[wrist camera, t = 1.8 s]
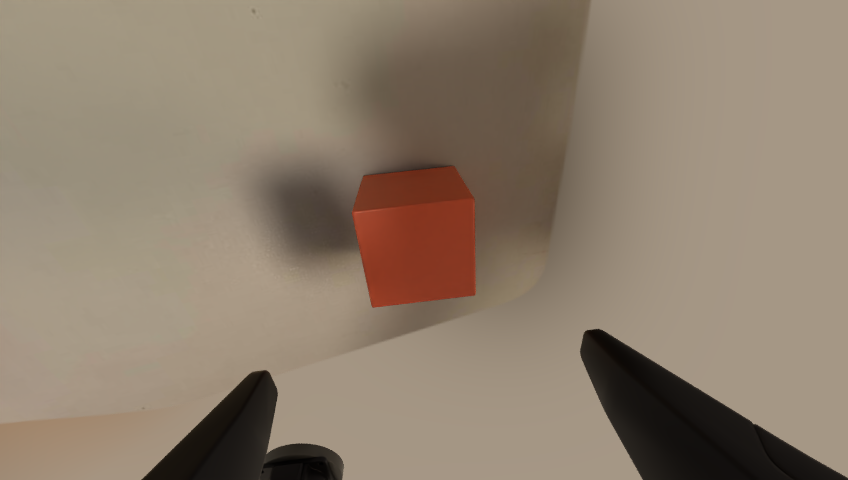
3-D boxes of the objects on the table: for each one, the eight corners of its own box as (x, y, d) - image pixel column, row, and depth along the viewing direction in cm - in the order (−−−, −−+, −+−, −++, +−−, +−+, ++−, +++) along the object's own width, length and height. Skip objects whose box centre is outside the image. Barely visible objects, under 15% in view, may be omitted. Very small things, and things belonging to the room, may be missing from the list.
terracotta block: (458, 245, 20) (476, 296, 15) (377, 254, 19) (371, 308, 15) (454, 165, 17) (475, 197, 13) (362, 175, 17) (351, 211, 13)
